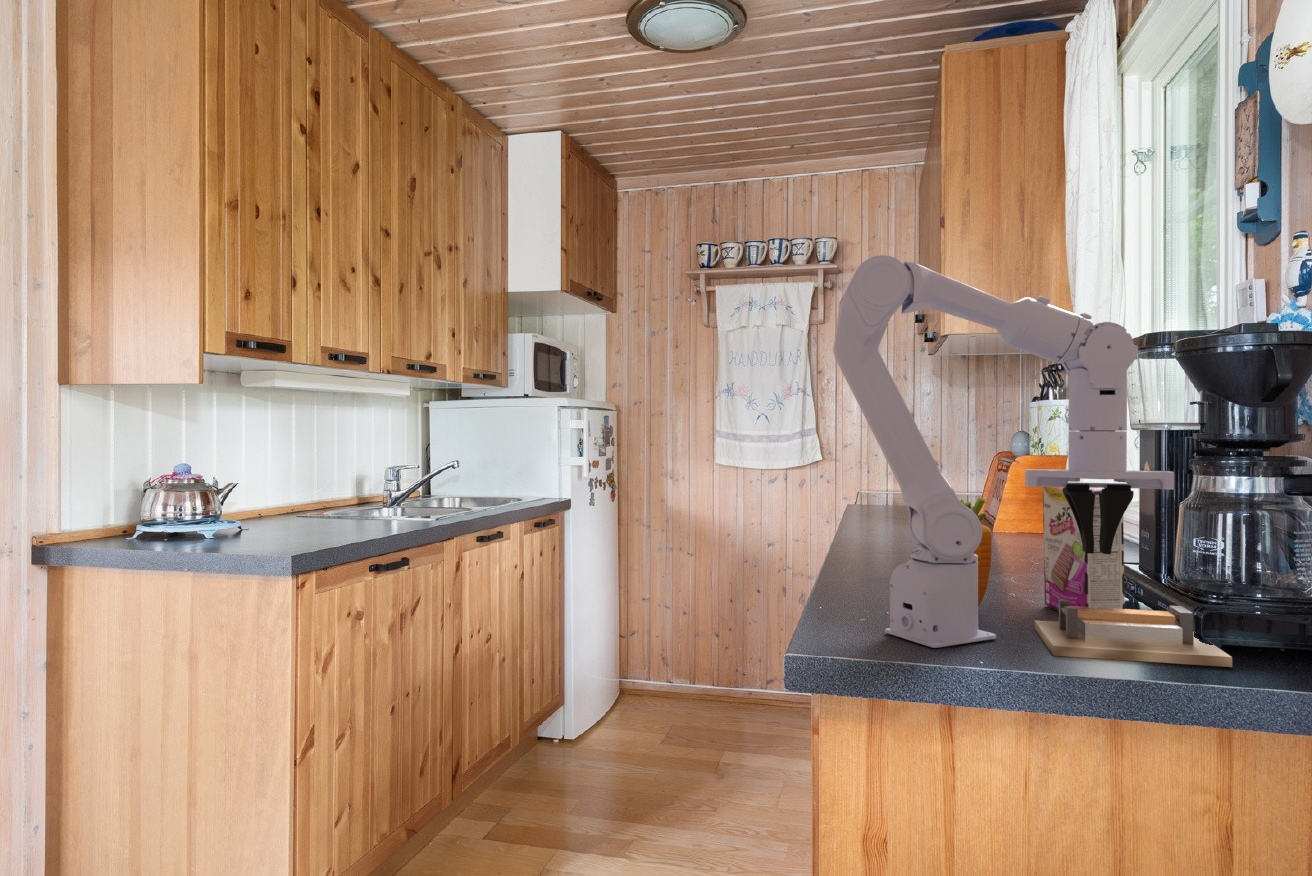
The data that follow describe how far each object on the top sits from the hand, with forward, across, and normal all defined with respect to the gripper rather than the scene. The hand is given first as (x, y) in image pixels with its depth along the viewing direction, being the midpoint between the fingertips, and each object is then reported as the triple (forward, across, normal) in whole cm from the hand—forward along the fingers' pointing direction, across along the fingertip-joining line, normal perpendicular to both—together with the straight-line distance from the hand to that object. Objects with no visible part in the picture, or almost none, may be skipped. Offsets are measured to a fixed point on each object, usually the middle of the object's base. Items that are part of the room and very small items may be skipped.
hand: (1096, 552), depth 89 cm
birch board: (+10, -2, +2) cm, 10 cm away
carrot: (+10, +12, -12) cm, 20 cm away
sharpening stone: (+10, -2, +2) cm, 10 cm away
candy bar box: (+10, -1, -13) cm, 17 cm away
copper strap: (+7, -2, +2) cm, 7 cm away
